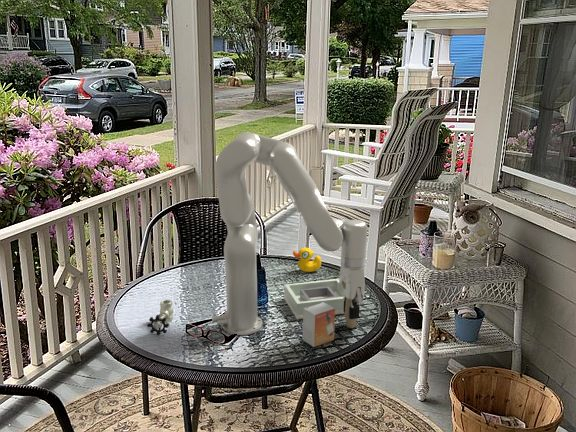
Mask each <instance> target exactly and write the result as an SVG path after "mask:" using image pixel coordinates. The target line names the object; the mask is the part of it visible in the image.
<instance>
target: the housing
mask: <svg viewBox="0 0 576 432" xmlns="http://www.w3.org/2000/svg"><path fill="white" fill-rule="evenodd" d="M283 286H284V294H283V295H284V297H283V298H284V300H285V302H286V304H287V305H288V307H289V309H290V310H291V312H292V314H293V315H294V317H295V318H296V320H301V319H302V320H303V309H304V308H308V307H311V306H314V305H317V304H320V303H322V302H324V303H326V304H328V305H330V306H332V307H333V308H335V316H336V315H342V314H344V315H345V313H344V311H343V310H344V301H345V300H344V294H343V293H342V292H341V291H340V289H339V278H334V279H325V280H317V281H316V280H315V281H305V282H295V283H287V284H284V285H283Z"/></svg>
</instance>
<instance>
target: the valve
mask: <svg viewBox="0 0 576 432" xmlns="http://www.w3.org/2000/svg"><path fill="white" fill-rule="evenodd" d="M159 305H160V306H159V307H160V308H159V314H156V315H155V318H154V317H153V316H150V318H149V319H148V320H149V322H148V323H147V324H146V326H147V328H151V329H150V330H149V331H150V332H149V333H151V334H153V333H154V332H156V335H157V336H160V335H161V334H162V333H163V334H167V332H168V330H167V329H168V328H169V327H170V324H169V323H172V322H173V320H174V308H173V301H172V300H170V299H163V300H161V301H160V303H159ZM167 322H169V323H167ZM154 323H155V324H154ZM154 325H155V326H154Z"/></svg>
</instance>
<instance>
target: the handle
mask: <svg viewBox="0 0 576 432" xmlns="http://www.w3.org/2000/svg"><path fill="white" fill-rule="evenodd" d="M342 287H343V288H345V287H346V285H345V284H344V283H343V282H342ZM345 289H346V288H345ZM355 297H356V296H355ZM356 301H357V300H353V303H354V302H356ZM349 307H351V304H350V300H349V299H348V298H347V297H346V305H345V313H344V319H345V321H344V322H345V326H346V328H349V329H354V328H356V327H357V321H358V318H357V319H349Z"/></svg>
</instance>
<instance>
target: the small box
mask: <svg viewBox="0 0 576 432" xmlns="http://www.w3.org/2000/svg"><path fill="white" fill-rule="evenodd" d="M335 321H336V315H335V308H333V307H332V306H330V305H328V304H326V303H324V302H322V303H320V304H317V305H314V306H311V307H308V308H304V309H303V319H302V341H303V342H305V343H307V344H308V345H310V346H311V347H313V348H316V347H319V346H321V345H324V344H326V343H329V342H332V341H334V340H335Z"/></svg>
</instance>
